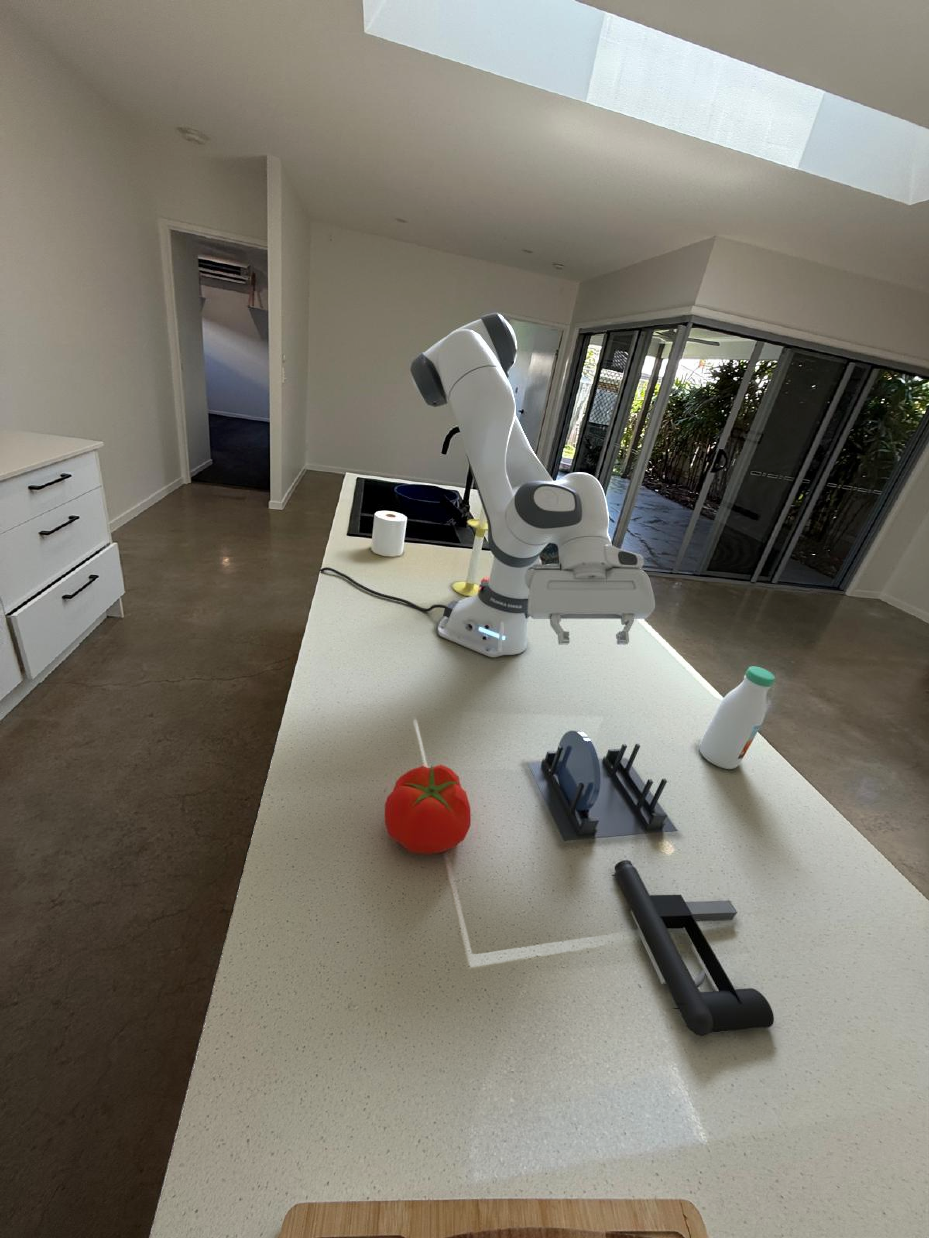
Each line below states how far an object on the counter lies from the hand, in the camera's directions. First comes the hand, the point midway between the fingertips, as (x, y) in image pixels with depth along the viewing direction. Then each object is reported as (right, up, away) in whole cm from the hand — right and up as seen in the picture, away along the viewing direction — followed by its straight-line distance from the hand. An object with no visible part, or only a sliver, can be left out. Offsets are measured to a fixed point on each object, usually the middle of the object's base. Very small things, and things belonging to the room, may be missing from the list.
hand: (593, 643), depth 80 cm
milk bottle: (+30, -23, +20) cm, 43 cm away
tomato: (-26, -26, -8) cm, 38 cm away
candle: (-19, +13, +71) cm, 74 cm away
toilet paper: (-46, +26, +87) cm, 102 cm away
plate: (-4, -25, +2) cm, 25 cm away
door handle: (+8, -38, -16) cm, 42 cm away
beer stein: (+7, +20, +95) cm, 98 cm away
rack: (+2, -26, +4) cm, 26 cm away
